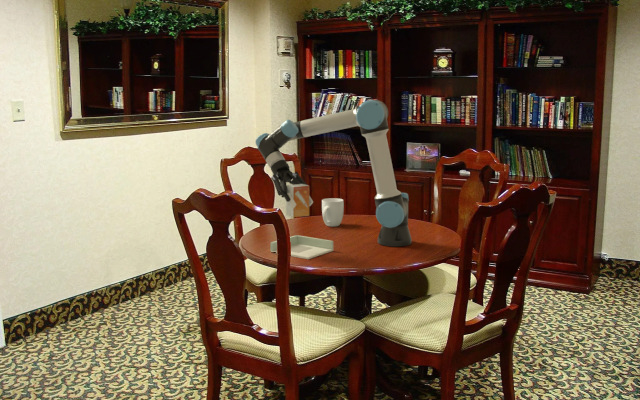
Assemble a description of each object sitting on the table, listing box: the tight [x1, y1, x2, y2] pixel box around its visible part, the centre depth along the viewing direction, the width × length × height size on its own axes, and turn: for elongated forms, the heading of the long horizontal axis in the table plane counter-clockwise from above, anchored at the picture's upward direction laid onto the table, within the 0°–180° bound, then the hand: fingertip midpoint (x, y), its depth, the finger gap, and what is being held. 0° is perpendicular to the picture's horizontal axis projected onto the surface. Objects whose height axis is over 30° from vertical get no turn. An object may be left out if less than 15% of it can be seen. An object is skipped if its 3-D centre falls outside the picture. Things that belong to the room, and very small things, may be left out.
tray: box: [269, 234, 334, 260], centre depth 285 cm, size 20×18×4 cm
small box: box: [285, 184, 310, 218], centre depth 283 cm, size 8×6×13 cm
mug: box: [321, 197, 345, 228], centre depth 337 cm, size 15×11×13 cm
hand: (302, 205), depth 281 cm, fingers closed on small box, 9 cm apart
